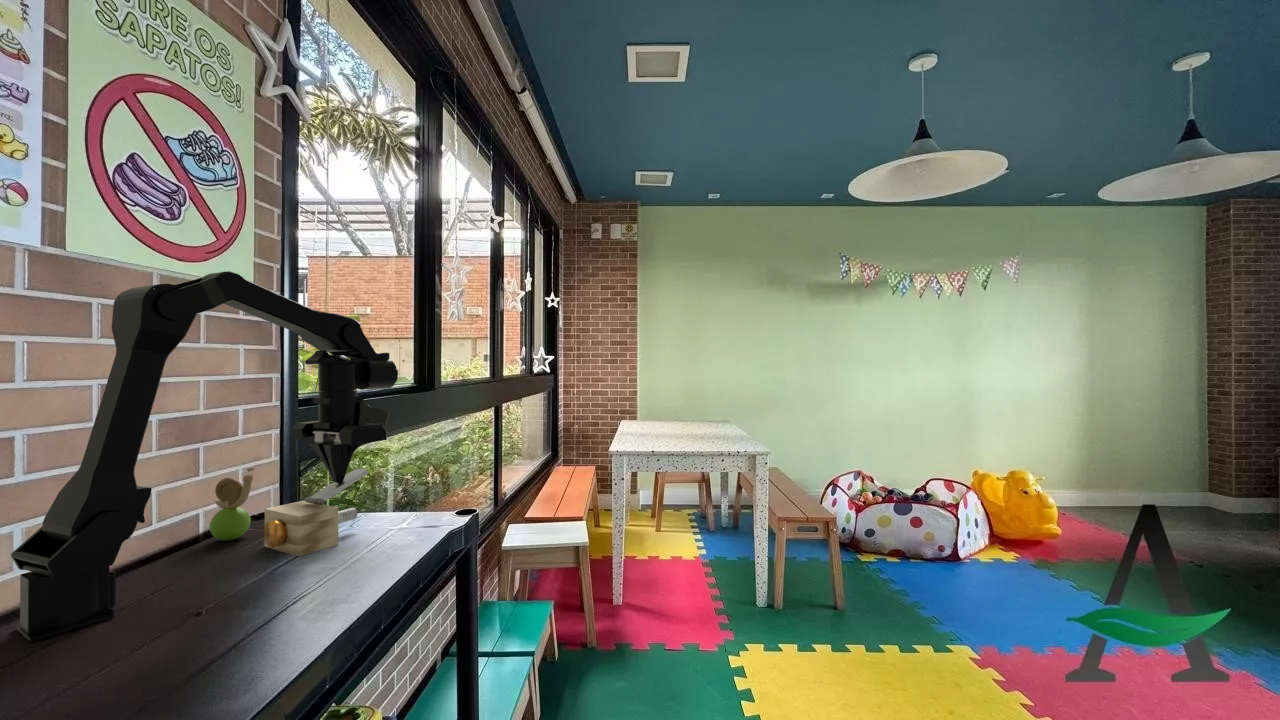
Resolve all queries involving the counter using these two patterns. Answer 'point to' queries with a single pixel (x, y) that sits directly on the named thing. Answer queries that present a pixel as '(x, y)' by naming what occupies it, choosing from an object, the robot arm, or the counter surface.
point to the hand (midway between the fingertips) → (338, 482)
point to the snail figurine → (231, 508)
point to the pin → (277, 529)
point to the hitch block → (305, 526)
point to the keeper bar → (336, 487)
